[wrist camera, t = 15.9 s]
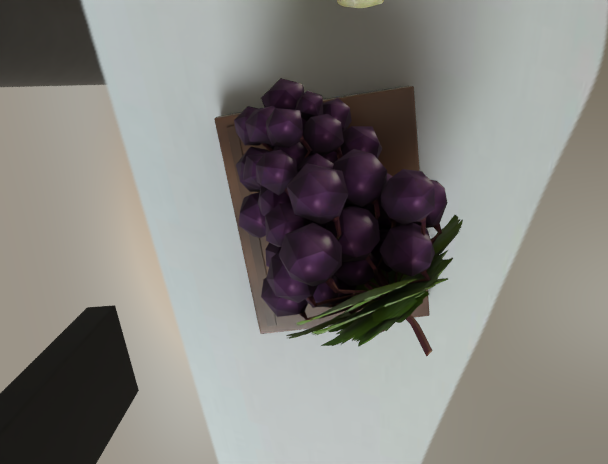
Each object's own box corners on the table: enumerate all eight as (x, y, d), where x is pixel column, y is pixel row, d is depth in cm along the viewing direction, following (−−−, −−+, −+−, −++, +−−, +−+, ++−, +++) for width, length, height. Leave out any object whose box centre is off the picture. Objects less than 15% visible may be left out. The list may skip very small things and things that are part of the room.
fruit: (370, 2, 19) (575, 287, 18) (298, 124, 29) (429, 315, 28) (159, 83, 15) (412, 461, 14) (156, 195, 24) (306, 423, 23)
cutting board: (220, 115, 26) (213, 118, 24) (408, 85, 25) (414, 86, 23) (263, 322, 30) (260, 335, 29) (424, 304, 29) (430, 316, 28)
